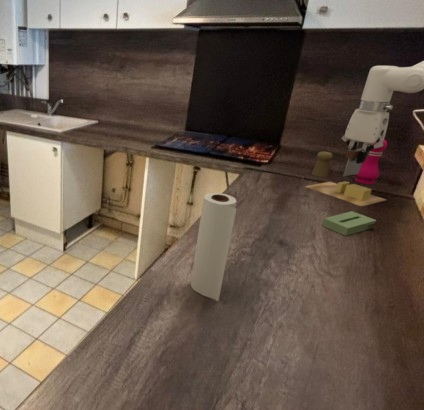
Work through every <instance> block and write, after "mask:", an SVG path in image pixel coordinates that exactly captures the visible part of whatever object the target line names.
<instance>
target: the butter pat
mask: <svg viewBox="0 0 424 410" xmlns="http://www.w3.org/2000/svg"><path fill="white" fill-rule="evenodd" d="M337 184H338V185H337V189H336V192H338V193H342V192H345V189H346V186H347V185H350V182H349V181H346V180H345V181H340V182H338V183H337Z"/></svg>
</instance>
